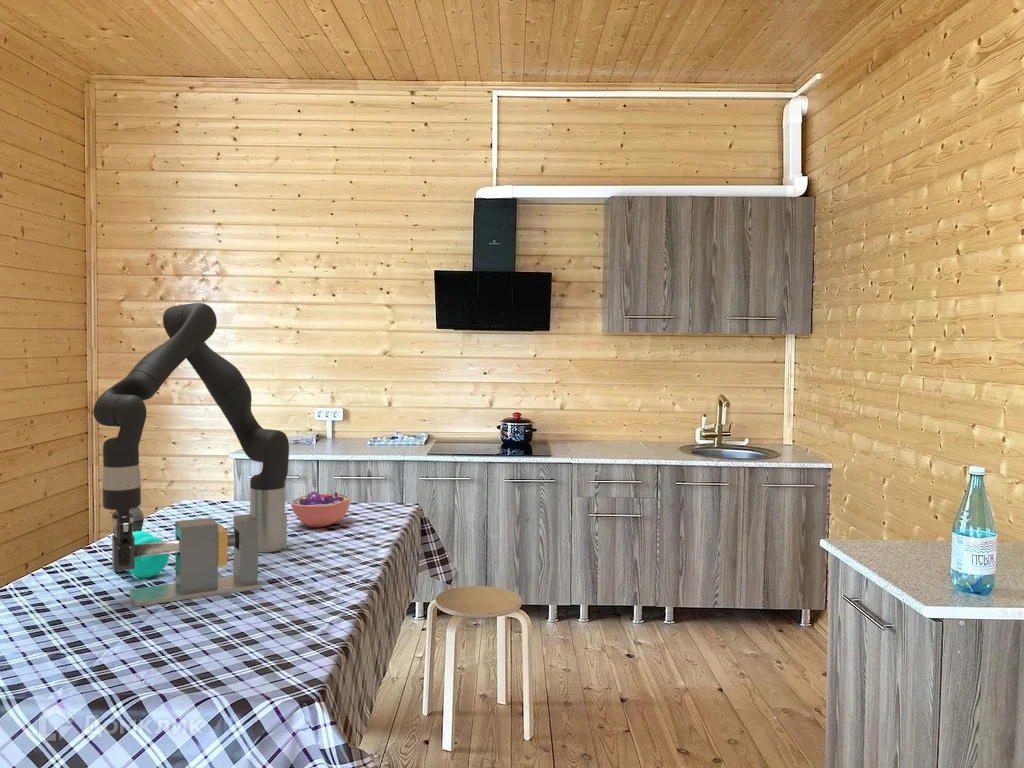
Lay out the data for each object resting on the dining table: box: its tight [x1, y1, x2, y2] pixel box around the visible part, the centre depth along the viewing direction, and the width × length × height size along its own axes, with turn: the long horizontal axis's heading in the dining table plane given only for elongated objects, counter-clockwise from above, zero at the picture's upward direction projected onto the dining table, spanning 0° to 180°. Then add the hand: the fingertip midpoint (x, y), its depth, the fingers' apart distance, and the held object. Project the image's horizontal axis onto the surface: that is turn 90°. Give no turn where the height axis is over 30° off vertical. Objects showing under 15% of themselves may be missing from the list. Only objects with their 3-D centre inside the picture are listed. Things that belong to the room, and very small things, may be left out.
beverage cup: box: [129, 506, 145, 532], centre depth 203 cm, size 7×7×20 cm
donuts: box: [127, 530, 170, 579], centre depth 196 cm, size 10×10×10 cm
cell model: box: [289, 490, 351, 528], centre depth 250 cm, size 17×20×11 cm
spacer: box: [218, 523, 229, 568], centre depth 186 cm, size 2×8×8 cm, turn 32°
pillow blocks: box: [128, 513, 263, 608], centre depth 184 cm, size 27×10×16 cm, turn 122°
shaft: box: [111, 533, 235, 572], centre depth 181 cm, size 26×4×7 cm, turn 122°
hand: (123, 562), depth 176 cm, fingers closed on shaft, 4 cm apart
